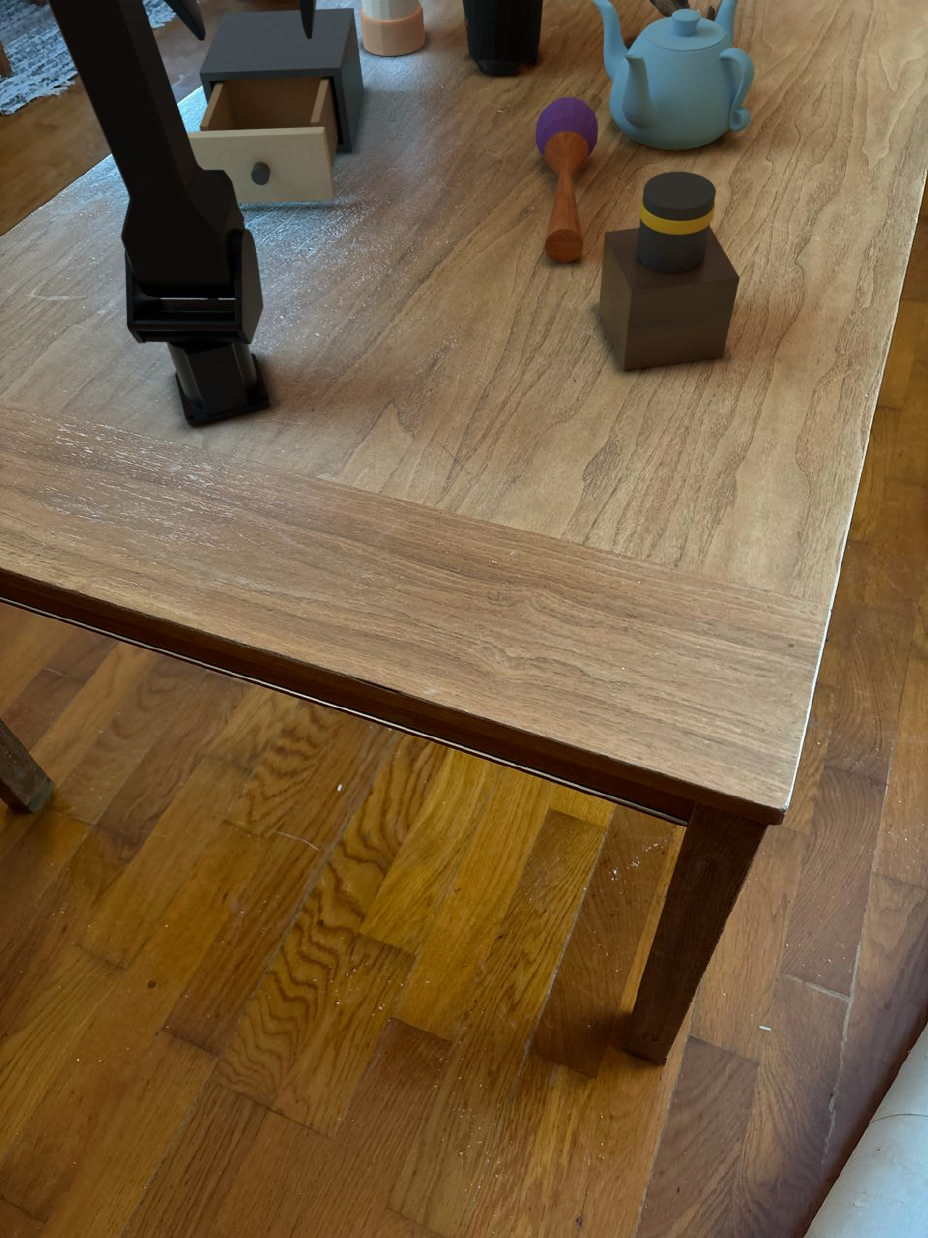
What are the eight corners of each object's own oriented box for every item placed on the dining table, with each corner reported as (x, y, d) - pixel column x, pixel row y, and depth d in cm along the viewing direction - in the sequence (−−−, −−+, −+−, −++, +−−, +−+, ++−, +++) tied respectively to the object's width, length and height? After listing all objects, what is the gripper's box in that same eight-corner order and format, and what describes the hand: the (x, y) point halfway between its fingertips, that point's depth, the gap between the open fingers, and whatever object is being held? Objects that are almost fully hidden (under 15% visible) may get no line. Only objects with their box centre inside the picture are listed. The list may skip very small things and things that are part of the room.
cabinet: (352, 152, 95) (340, 66, 88) (220, 156, 96) (198, 72, 89) (363, 89, 103) (353, 7, 97) (242, 94, 104) (223, 12, 97)
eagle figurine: (720, 24, 106) (647, -3, 107) (729, -21, 99) (651, -49, 100) (691, 86, 106) (618, 58, 107) (698, 45, 99) (620, 16, 100)
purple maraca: (523, 221, 79) (531, 90, 89) (535, 279, 84) (542, 149, 94) (594, 209, 77) (594, 77, 88) (603, 269, 82) (601, 138, 93)
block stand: (723, 357, 73) (740, 277, 68) (623, 371, 73) (631, 292, 67) (692, 297, 78) (706, 218, 72) (598, 310, 77) (604, 231, 72)
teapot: (761, 156, 91) (785, 41, 83) (606, 168, 91) (616, 53, 83) (725, 87, 100) (744, -24, 91) (585, 97, 100) (591, -12, 91)
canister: (718, 264, 69) (731, 199, 65) (653, 280, 68) (662, 215, 64) (686, 228, 72) (696, 163, 68) (623, 243, 71) (630, 179, 67)
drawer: (333, 207, 87) (321, 139, 82) (201, 211, 88) (182, 144, 83) (347, 134, 95) (337, 68, 90) (227, 139, 96) (210, 73, 91)
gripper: (346, -253, 67) (376, -24, 81) (95, -242, 69) (168, -19, 83) (325, -172, 62) (362, 58, 76) (56, -162, 64) (140, 61, 78)
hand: (256, 36), depth 78 cm, fingers open, 9 cm apart
